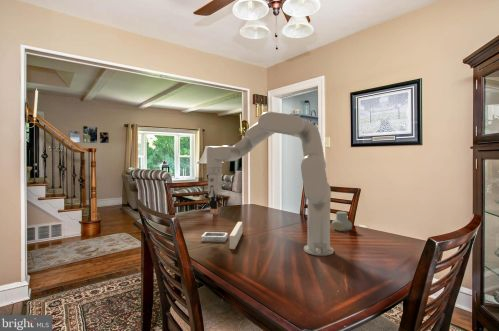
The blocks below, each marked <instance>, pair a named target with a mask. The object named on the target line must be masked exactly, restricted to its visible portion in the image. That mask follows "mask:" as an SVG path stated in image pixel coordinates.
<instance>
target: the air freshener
mask: <svg viewBox="0 0 499 331" xmlns="http://www.w3.org/2000/svg"><path fill="white" fill-rule="evenodd" d="M331 226H332V228H333V229H334V230H336V231H338V232H348V231H350V230H352V228H353V223H352V222H351V220H348V212H346V211H337V212H336V219H334V220H332V222H331Z"/></svg>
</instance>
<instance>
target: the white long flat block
mask: <svg viewBox="0 0 499 331" xmlns="http://www.w3.org/2000/svg"><path fill="white" fill-rule="evenodd" d="M242 234H243V221H238V222H237V223H236V224H235V226H234V227H233V230H232V231H231V233H230V234H229V250H230V249H231V250H235V249H236V248H237V245H238V243H239V241H240V239H241V236H242Z"/></svg>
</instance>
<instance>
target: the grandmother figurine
mask: <svg viewBox="0 0 499 331" xmlns="http://www.w3.org/2000/svg"><path fill="white" fill-rule="evenodd" d="M213 194H215V193H213ZM216 195H217V194H216ZM216 201H219V204H221V205H222V204H223V201H222V199H221V198H220V196H219V197H218V196H216ZM207 204H210V197H208V200H207ZM218 209H219V207H218V202H217V209H211V208H210V211H209V213H208V215H214V216H215V215H218V214H219V212H218V211H219V210H218Z"/></svg>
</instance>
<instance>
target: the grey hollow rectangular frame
mask: <svg viewBox="0 0 499 331" xmlns="http://www.w3.org/2000/svg"><path fill="white" fill-rule="evenodd" d="M228 236H229V233H228V232H219V231H217V232H215V231H213V232H212V231H211V232H210V231H205V232H204V233H203V234H202V235H201V239H200V240H201V242H203V243H205V242H207V243H213V242H214V243H226V242H227V240H228V238H229V237H228Z"/></svg>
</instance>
